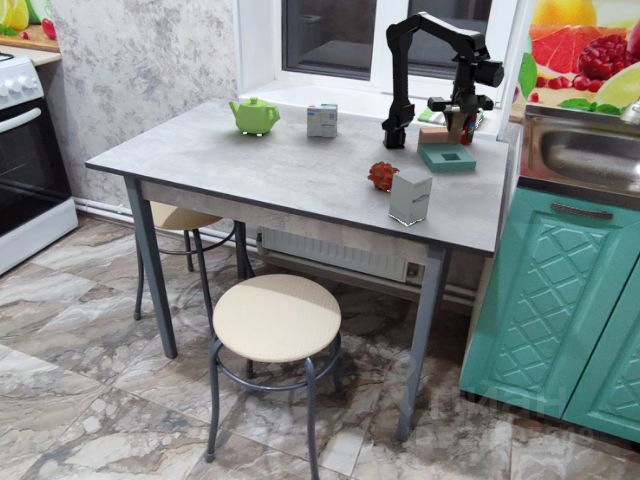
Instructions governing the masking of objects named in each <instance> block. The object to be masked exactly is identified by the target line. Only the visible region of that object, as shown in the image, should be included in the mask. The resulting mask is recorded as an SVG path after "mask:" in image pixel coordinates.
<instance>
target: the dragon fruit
mask: <svg viewBox="0 0 640 480" xmlns="http://www.w3.org/2000/svg"><path fill="white" fill-rule="evenodd" d="M400 171H401V170H400V169H398V167H393V166H392V164H391V163H389V162H386V163H385V161H382V160H381V161H379V162H375V163H374V164H373V165H371V168H369V170H368V173H369V175H368V176H367V180H370V181H371V182H372V183H373V185H374V188H375V190H378V189H379V188H380V189H381V190H383V191H385V192H387V190H391V189H392V180H393V174H395V173H398V172H400Z"/></svg>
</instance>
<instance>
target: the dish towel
mask: <svg viewBox="0 0 640 480" xmlns="http://www.w3.org/2000/svg"><path fill="white" fill-rule="evenodd" d="M453 109H454V107H452V110H453ZM479 111H480V113H477V120H476V126H475V129H476V127H477V124H478V122H479V121H480V120H481V119H482V120H483V119H484V117H485V116H484V113H485V111H483V110H482V109H481V110H480V109H479ZM417 120H419V121H418V122H422V121H425V122H424V123H428V122H431V123H430V124H433V123H437V124H436V125H438V124H443V125H442V126H445V125H446V122H445V117H444V114H443V113H442V112H432V111H431V110H430V109H429V107H428V106H427V105H426V108H425V109H424V111H423V112H421V113H420V114H419V116H418V118H417Z"/></svg>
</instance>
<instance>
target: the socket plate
mask: <svg viewBox="0 0 640 480" xmlns="http://www.w3.org/2000/svg"><path fill="white" fill-rule="evenodd" d="M418 130H419V131H418V139H417V148H416V151H417V152H418V154H419V155H420V157H421V159H422V160H423V161H424V163H425V164H426V165H427V167H428V168H429V170H430V171H431V172H432V173H437V172H438V173H439V172H440V173H442V172H459V171H462V172H463V171H464V172H465V171H475V170H476V168H477V160H476V159H475V157H474V156H472V155H471V153H470V152H469V151H468V150H467V148H465V147H464V145H461V144H456V145H454V144H449V143H448V142H447V138H448V131H447V126H440V127H439V126H437V127H433V126H432V127H420V128H419V129H418ZM462 134H465V131H462Z"/></svg>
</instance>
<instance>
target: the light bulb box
mask: <svg viewBox="0 0 640 480" xmlns="http://www.w3.org/2000/svg"><path fill="white" fill-rule="evenodd" d="M338 108H339V107H338V103H337V102H336V103H335V102H334V103H333V102H331V103H330V102H312V101H311V102H310V101H309V103H308V105H307V107H306V131H307V133H306V136H307V137H314V136H322V137H321V138H334V137H335V138H336V137H337V132H338V111H339V109H338Z"/></svg>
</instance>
